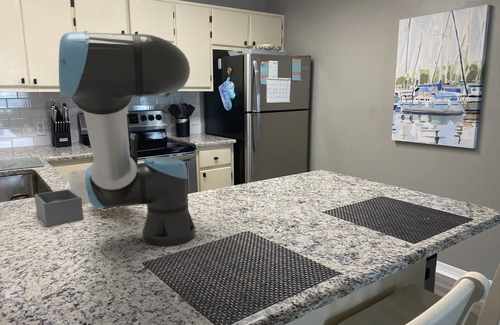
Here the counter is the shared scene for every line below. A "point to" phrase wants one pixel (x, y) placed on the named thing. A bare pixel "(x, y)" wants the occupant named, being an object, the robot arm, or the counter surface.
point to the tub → (59, 207)
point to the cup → (79, 184)
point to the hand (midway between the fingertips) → (121, 187)
